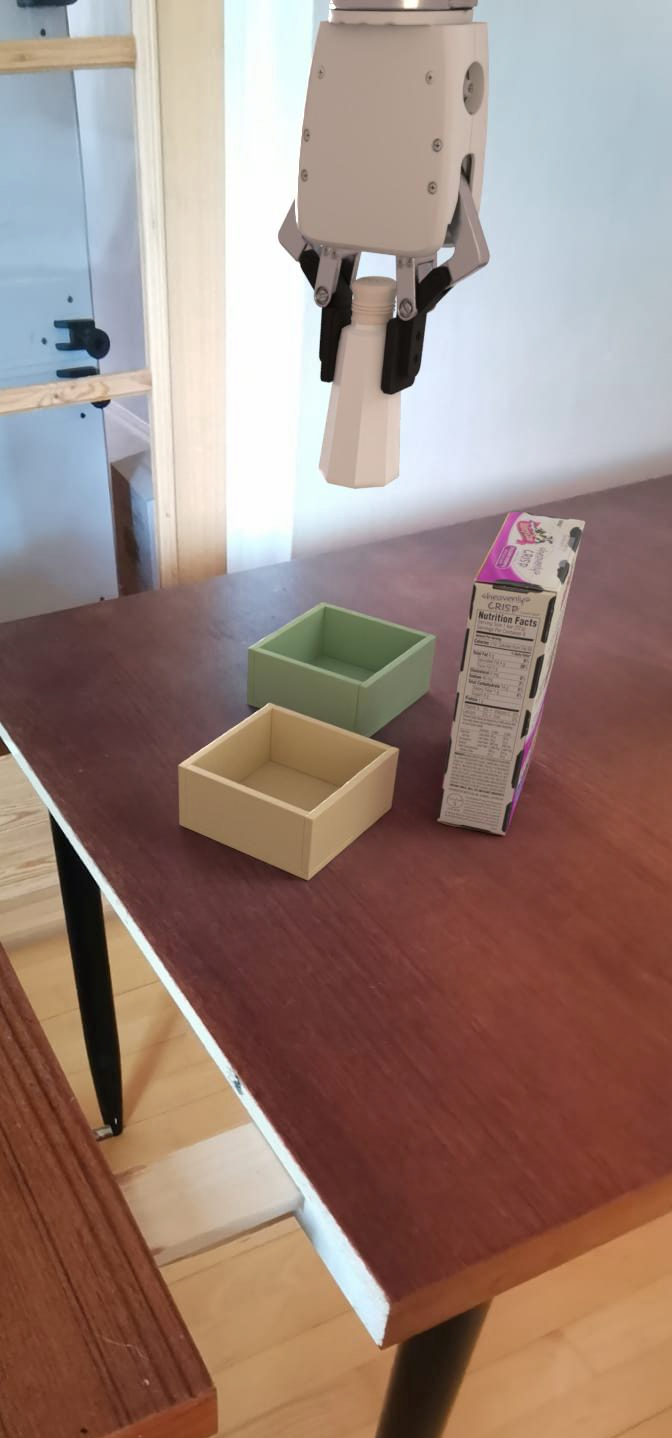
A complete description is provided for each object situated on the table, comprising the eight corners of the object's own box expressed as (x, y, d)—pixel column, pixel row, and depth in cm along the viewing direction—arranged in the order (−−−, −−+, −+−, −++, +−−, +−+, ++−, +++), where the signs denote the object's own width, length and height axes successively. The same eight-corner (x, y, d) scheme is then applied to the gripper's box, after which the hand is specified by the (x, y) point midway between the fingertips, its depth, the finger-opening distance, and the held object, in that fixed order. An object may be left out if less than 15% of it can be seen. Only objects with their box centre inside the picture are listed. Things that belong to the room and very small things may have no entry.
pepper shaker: (352, 495, 70) (370, 293, 63) (301, 471, 74) (312, 277, 66) (415, 479, 72) (440, 282, 65) (363, 457, 76) (381, 267, 68)
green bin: (428, 691, 85) (437, 635, 82) (360, 745, 79) (366, 687, 76) (318, 655, 90) (322, 601, 86) (246, 704, 84) (247, 648, 81)
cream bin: (391, 808, 73) (399, 748, 70) (308, 881, 68) (312, 819, 64) (267, 760, 78) (269, 702, 75) (179, 825, 72) (177, 765, 69)
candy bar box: (464, 743, 79) (507, 507, 68) (534, 756, 78) (590, 518, 67) (429, 824, 72) (471, 575, 61) (506, 840, 71) (563, 588, 59)
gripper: (585, -15, 55) (513, 392, 68) (308, -17, 62) (291, 351, 75) (519, -13, 51) (456, 421, 63) (230, -15, 58) (226, 375, 71)
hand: (367, 380), depth 69 cm, fingers closed on pepper shaker, 3 cm apart
